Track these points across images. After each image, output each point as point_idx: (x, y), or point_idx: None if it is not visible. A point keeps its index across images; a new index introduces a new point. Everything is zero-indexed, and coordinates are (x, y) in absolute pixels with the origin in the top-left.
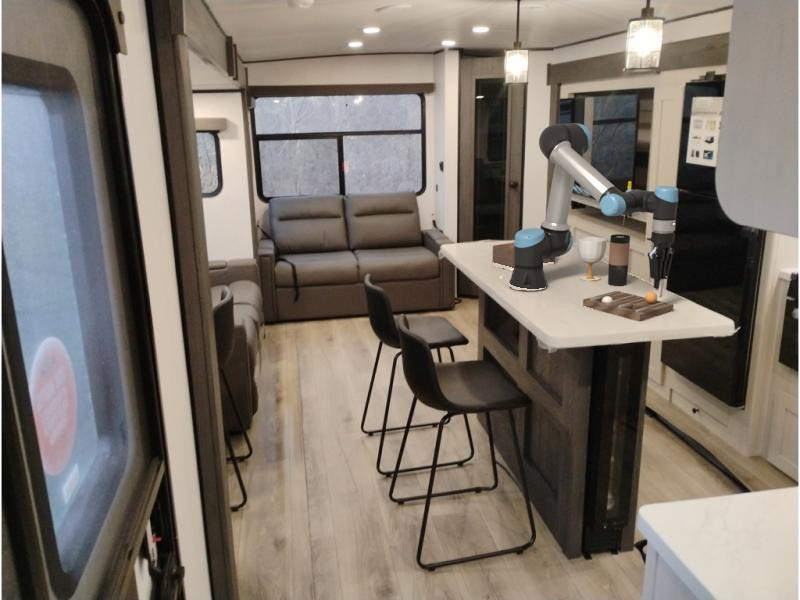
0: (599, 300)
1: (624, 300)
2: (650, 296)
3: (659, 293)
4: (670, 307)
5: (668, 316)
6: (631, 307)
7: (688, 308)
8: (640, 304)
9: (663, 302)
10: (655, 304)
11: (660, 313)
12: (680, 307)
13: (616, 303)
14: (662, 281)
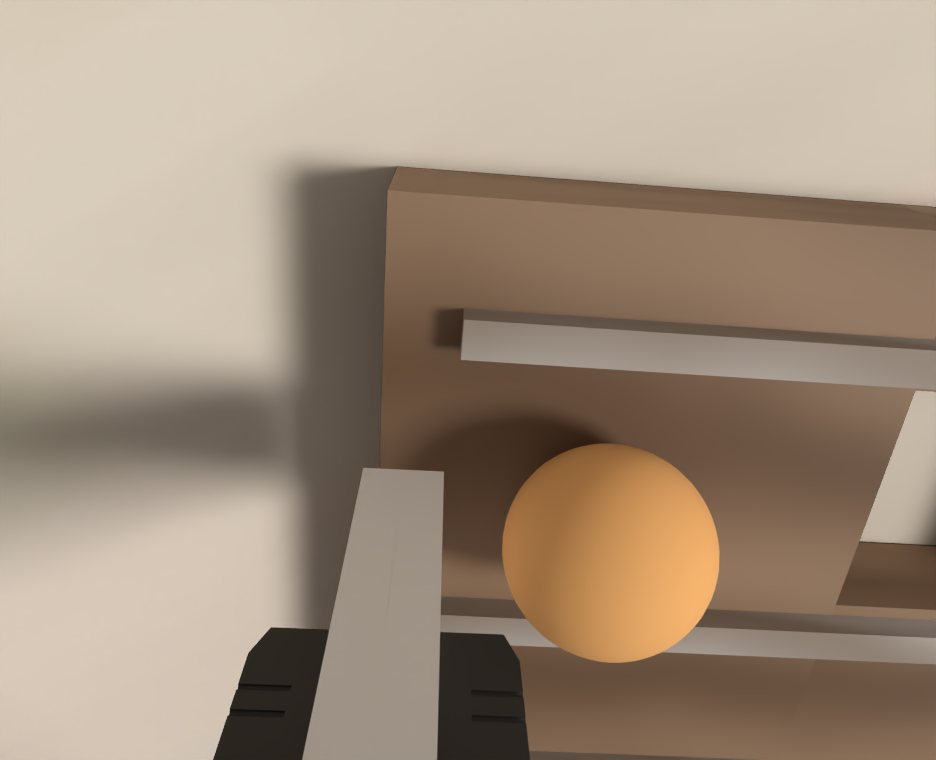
0: None
1: (707, 750)
2: (717, 549)
3: (439, 534)
4: (481, 187)
5: (734, 56)
6: (847, 579)
7: (31, 59)
8: (772, 544)
9: (513, 337)
10: (736, 365)
11: (757, 198)
12: (101, 191)
13: (913, 742)
14: (367, 748)
